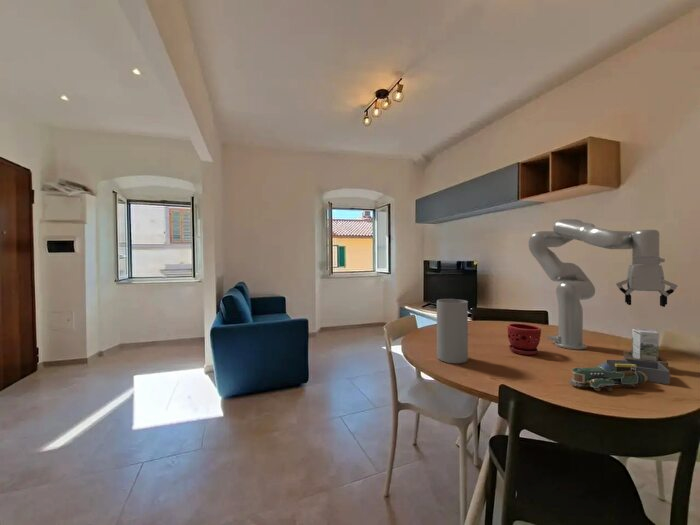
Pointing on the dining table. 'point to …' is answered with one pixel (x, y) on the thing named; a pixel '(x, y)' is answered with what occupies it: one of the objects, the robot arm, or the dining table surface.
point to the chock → (621, 365)
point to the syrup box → (645, 344)
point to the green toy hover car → (606, 377)
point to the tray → (652, 370)
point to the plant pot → (524, 338)
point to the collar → (660, 360)
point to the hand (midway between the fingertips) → (645, 305)
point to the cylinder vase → (452, 330)
